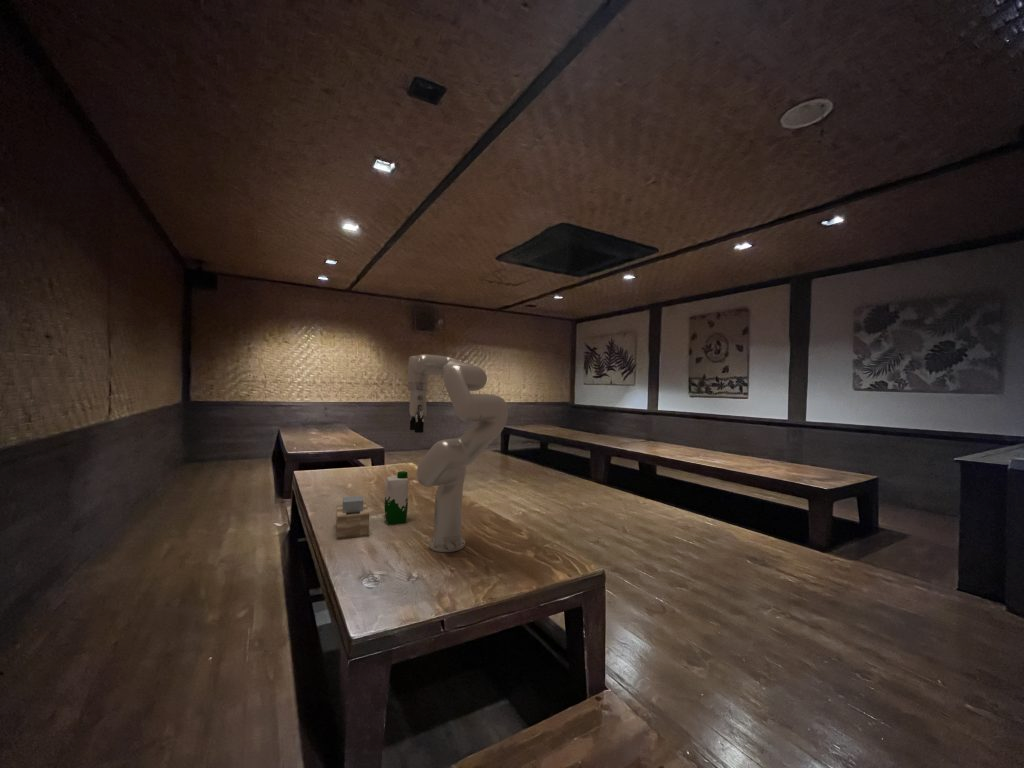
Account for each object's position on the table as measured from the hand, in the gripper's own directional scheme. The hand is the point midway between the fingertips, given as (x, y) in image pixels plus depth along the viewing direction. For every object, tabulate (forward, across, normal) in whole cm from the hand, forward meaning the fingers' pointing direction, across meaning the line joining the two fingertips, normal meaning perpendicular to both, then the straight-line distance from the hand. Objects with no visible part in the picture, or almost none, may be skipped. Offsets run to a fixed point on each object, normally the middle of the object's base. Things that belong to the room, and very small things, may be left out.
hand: (416, 431), depth 154 cm
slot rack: (+38, +7, +22) cm, 45 cm away
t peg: (+36, +7, +22) cm, 43 cm away
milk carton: (+38, +12, +5) cm, 41 cm away
